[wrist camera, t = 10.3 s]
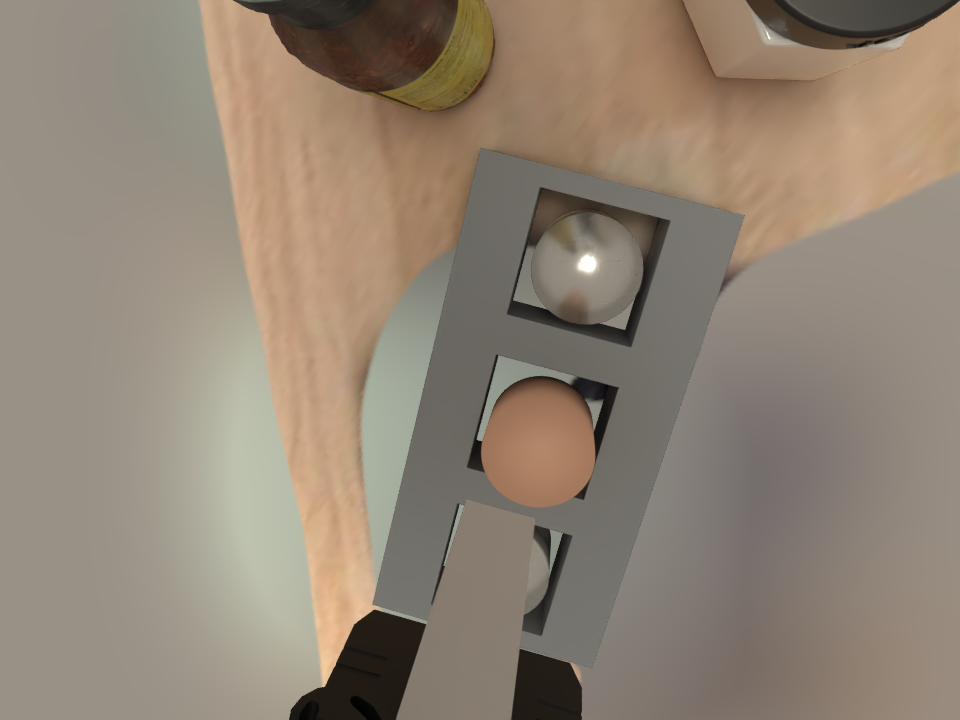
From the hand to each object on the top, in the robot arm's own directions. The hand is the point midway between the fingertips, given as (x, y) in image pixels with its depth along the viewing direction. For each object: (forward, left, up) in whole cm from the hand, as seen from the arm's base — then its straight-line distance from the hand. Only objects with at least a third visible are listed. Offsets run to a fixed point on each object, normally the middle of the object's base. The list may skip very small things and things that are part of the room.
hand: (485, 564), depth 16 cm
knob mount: (+4, +1, -24) cm, 24 cm away
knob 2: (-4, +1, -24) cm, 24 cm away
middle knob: (+4, +1, -21) cm, 21 cm away
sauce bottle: (-12, -9, -24) cm, 28 cm away
